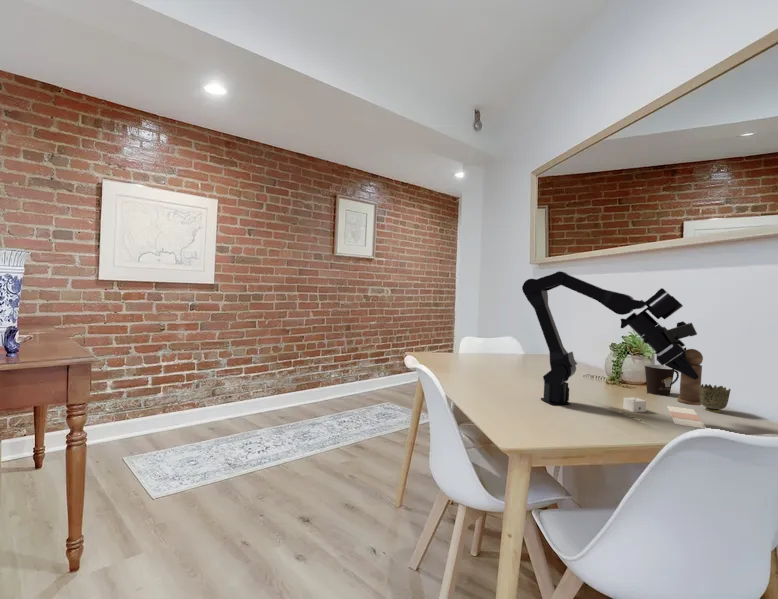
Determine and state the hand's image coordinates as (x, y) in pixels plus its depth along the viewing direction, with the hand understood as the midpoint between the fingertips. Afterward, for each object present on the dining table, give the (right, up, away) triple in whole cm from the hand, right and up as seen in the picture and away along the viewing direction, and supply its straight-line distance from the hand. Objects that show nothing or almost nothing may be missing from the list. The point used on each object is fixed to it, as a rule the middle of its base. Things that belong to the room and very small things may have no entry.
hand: (697, 377), depth 110 cm
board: (+2, -13, +7) cm, 15 cm away
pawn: (-1, -7, +1) cm, 7 cm away
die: (-9, -13, +12) cm, 20 cm away
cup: (+15, -14, +14) cm, 25 cm away
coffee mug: (+13, -13, +34) cm, 39 cm away
